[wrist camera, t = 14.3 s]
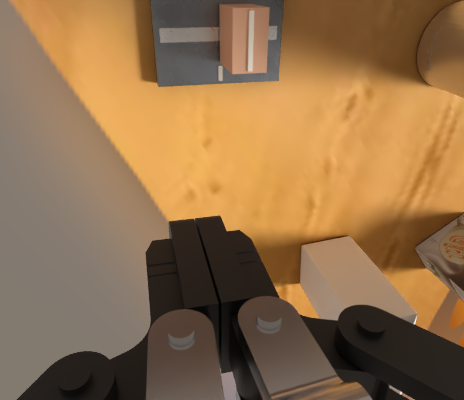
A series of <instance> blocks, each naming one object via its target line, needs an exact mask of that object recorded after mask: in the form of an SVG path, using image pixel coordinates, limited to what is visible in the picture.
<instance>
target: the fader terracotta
mask: <svg viewBox="0 0 464 400" xmlns="http://www.w3.org/2000/svg"><path fill="white" fill-rule="evenodd" d="M269 10H270V7H265V6H260V5H255V4H219V17H220V64H221V65H223V66H224V67H225V68H226V69H227V70H228V71H229V72H230V73H232V74H248V73H267V52H268V31H269Z"/></svg>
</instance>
